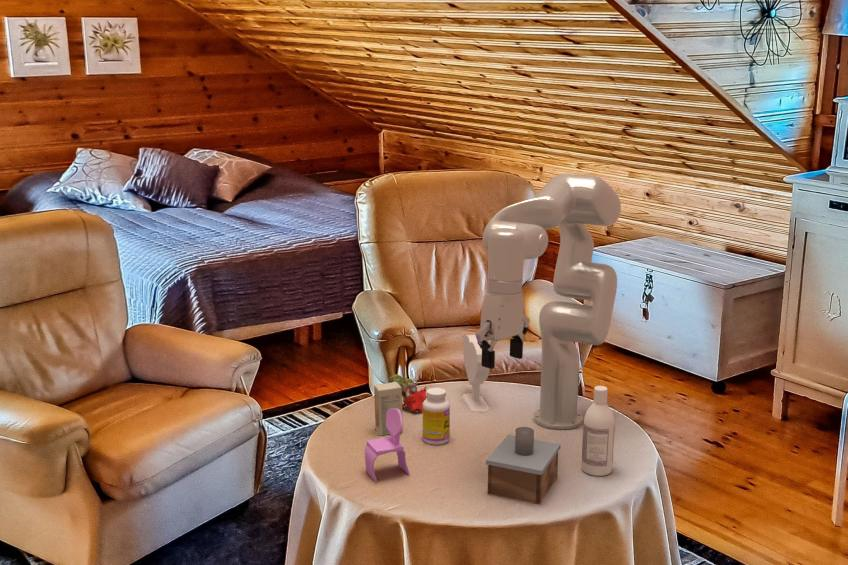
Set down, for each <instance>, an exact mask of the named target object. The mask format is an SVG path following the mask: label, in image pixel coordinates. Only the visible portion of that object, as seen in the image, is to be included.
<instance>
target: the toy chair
mask: <svg viewBox="0 0 848 565" xmlns="http://www.w3.org/2000/svg"><path fill="white" fill-rule="evenodd" d="M402 418H403V413H402V414H401V411H400V410H399V409H395V408H392V409H389V410H388V411H387V414H386V427H387V429H388V431H389V432H390V434H389V436H385V437H382V438H375V439H368V440H366V445H365V446H364V461H365V471H366V473H368V475H369V476H370V477H371V478H372V480H374V482H375V483H378V480H377V477H376V473H375V469H374V468H375V467H374V466H375V462H376V460H377V458H378V457H379V456H382V455H386V454H389V453H396V455H397V464H398V466H399V467H400V469H402V470H403V471H404V472H405V473H406V474H407V476H411V474H410V471H409V467H408V464H407V460H406V459H407V458H406V456H407V455H406V451H405V450H404V449H405V448H404V445H402V444H401V443H400V440H401V433H402V432H401V431H402Z"/></svg>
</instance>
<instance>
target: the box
mask: <svg viewBox="0 0 848 565" xmlns="http://www.w3.org/2000/svg"><path fill="white" fill-rule="evenodd" d="M558 466H559V452H558V453H557V454H556V455H555V457H554V458H553V460H552V461H551V463H550V464H549V465H548V467H547V468H546V470H545V471H544V472H543V474H542V475H538V474H533V473H528V472H523V471H518V470H513V469H507V468H502V467H497V466H492V465H488V466H487V494H488V495H491V496H492V495H494V496H496V497H497V496H498V497H503V498H507V499H511V500H512V499H513V500H518V501H522V502H527V503H532V504H537V505H540V504H541V502H542V501H543V500H544V498H545V497H546V495H547V493H548V492H549V491H550V489H551V488H552V486H553V484H554V483H555V482H556V480H557V478H558V471H559V470H558V468H559V467H558Z"/></svg>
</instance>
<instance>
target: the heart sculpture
mask: <svg viewBox="0 0 848 565" xmlns="http://www.w3.org/2000/svg"><path fill="white" fill-rule="evenodd" d="M462 340H463V341H462V342H463V343H462V344H463V345H462V349H463V351H462V354H463V360H464V361H463V362H464V366H465V371H466V376H467V380H468V383H469V384H468V385H469V386H471V392H468V393H463V394H461V397H462V398H463V400H464V401H465V403H466V404H467V406H468V407H469V409H470V410H471V411H472V412H480V413H481V412H486V411H489V410H490V409H491V408H490V407H489V406H488V404H487V402H485V400H484V399H483V397H482V396H481V394H480V391H481V390H480V386H481V385H482V384H484V383H485V381H486V382H487V380H488V378H489V375H490V370H491V369H490V368H486V367H483V366H482V365H481V361H482V349H480V346H479V345H478V343H477V338H476V336H475V334H466V335H463V339H462Z"/></svg>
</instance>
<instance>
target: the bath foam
mask: <svg viewBox="0 0 848 565" xmlns="http://www.w3.org/2000/svg"><path fill="white" fill-rule="evenodd" d="M607 402H608V387H606V386H604V385H596V386H594V389H593V402H592V404H591V405H590V406H589V407H588V408H587V410H586V412H585V414H584V417H583V422H582V425H583V426H582V444H581V445H582V448H581V470H582V471H583V472H584V473H586V474H587V475H589V476H595V477H602V476H603V477H604V476H608V475H609V474H611V473H612V471H613V466H614V465H613V463H614V446H615V445H614V444H615V430H616V425H615V424H616V423H615V422H616V421H615V416H614V413H613V411H612V409H611V407H610V406H609V405H608V403H607Z"/></svg>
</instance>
